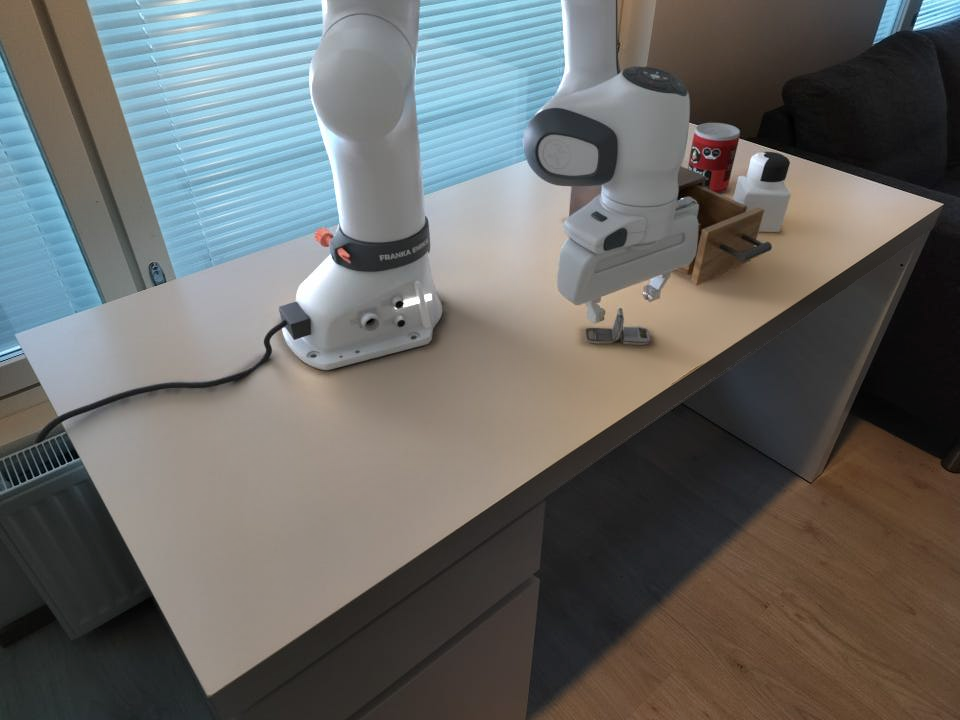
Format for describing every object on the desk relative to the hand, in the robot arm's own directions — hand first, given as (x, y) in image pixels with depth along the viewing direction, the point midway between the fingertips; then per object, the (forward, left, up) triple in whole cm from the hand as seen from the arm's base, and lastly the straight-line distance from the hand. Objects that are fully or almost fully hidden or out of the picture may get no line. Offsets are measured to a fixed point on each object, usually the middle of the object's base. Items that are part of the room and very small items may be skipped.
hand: (623, 309), depth 91 cm
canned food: (+47, +26, -5) cm, 54 cm away
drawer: (+23, +7, -3) cm, 25 cm away
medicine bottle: (+42, +11, -5) cm, 44 cm away
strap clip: (-1, 0, -5) cm, 5 cm away
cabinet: (+23, +22, -4) cm, 32 cm away
